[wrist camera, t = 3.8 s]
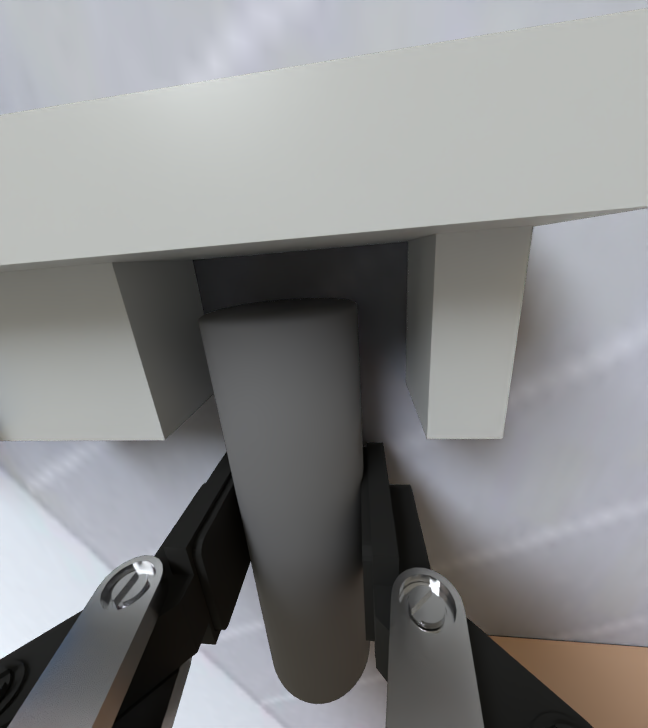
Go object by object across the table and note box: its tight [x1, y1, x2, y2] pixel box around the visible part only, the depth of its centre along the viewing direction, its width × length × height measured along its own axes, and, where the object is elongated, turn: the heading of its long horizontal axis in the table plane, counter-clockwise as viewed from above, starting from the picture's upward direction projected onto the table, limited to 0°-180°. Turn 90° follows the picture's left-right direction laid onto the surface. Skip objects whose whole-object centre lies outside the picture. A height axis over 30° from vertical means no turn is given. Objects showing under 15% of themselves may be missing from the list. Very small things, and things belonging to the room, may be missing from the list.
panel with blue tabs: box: [0, 8, 648, 441], centre depth 7 cm, size 21×6×5 cm, turn 94°
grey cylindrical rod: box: [198, 298, 370, 704], centre depth 9 cm, size 12×4×4 cm, turn 4°
